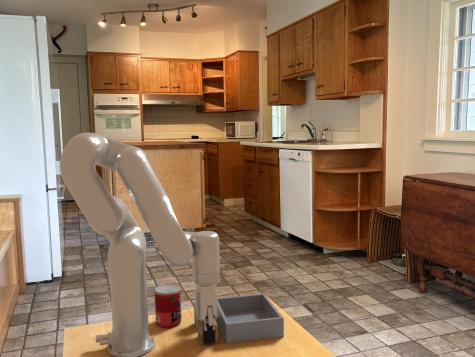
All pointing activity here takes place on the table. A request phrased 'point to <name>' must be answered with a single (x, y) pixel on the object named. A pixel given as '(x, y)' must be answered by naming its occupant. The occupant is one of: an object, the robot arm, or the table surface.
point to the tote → (248, 318)
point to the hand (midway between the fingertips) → (207, 337)
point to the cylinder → (195, 316)
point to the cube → (201, 328)
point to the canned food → (168, 305)
